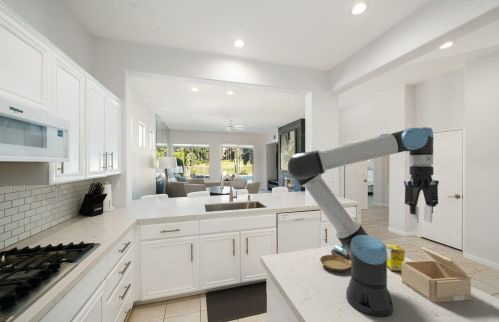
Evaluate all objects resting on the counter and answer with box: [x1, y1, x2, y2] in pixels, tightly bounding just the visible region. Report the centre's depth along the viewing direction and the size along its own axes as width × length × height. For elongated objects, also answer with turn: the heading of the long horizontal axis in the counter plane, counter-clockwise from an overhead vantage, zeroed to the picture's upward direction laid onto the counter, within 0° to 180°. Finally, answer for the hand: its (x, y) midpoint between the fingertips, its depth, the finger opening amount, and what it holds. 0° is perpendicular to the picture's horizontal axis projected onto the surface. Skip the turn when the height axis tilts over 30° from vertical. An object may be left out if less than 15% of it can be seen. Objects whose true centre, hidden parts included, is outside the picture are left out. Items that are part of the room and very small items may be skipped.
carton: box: [401, 259, 472, 304], centre depth 84 cm, size 16×16×9 cm
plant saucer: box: [319, 254, 351, 273], centre depth 105 cm, size 15×15×3 cm
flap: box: [421, 246, 468, 276], centre depth 85 cm, size 9×12×1 cm
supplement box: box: [385, 244, 405, 273], centre depth 101 cm, size 6×6×11 cm
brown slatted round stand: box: [330, 243, 350, 259], centre depth 119 cm, size 12×12×8 cm
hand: (421, 221), depth 84 cm, fingers open, 5 cm apart
